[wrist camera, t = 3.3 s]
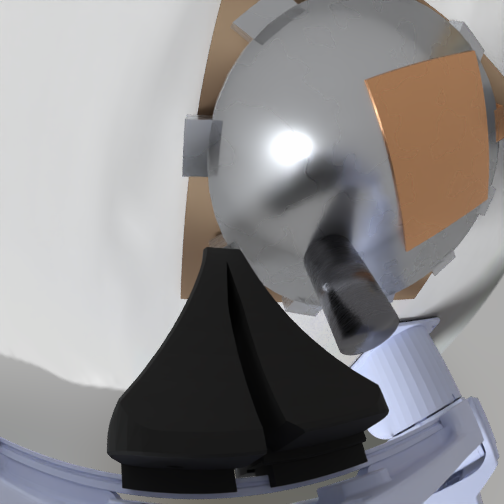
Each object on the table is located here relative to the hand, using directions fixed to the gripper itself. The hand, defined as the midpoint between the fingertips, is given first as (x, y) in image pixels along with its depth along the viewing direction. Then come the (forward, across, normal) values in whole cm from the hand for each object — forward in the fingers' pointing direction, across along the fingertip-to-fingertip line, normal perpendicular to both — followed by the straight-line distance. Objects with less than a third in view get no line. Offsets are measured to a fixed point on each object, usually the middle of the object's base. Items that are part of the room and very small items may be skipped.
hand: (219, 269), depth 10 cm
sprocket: (+3, -7, -5) cm, 9 cm away
